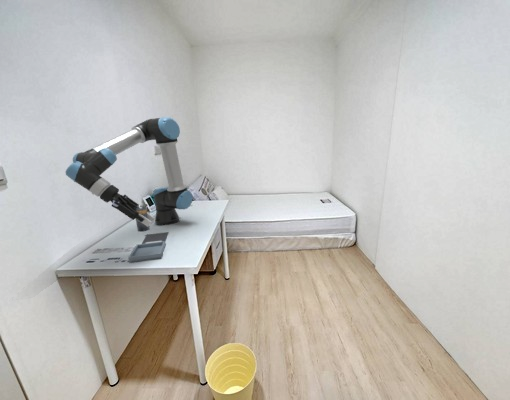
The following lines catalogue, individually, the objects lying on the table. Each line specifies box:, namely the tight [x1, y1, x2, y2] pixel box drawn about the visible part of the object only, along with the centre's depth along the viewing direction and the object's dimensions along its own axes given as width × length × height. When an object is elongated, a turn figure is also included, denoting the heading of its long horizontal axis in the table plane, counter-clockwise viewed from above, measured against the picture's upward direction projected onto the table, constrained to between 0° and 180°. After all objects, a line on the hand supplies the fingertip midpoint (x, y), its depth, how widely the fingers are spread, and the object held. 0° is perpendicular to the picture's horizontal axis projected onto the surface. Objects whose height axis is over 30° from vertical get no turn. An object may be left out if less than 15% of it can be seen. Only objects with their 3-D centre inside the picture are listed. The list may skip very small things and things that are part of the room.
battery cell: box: [134, 204, 151, 233], centre depth 107 cm, size 5×5×12 cm
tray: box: [128, 241, 167, 263], centre depth 112 cm, size 14×14×2 cm
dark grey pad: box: [141, 231, 170, 244], centre depth 128 cm, size 14×12×1 cm
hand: (151, 222), depth 108 cm, fingers closed on battery cell, 5 cm apart
